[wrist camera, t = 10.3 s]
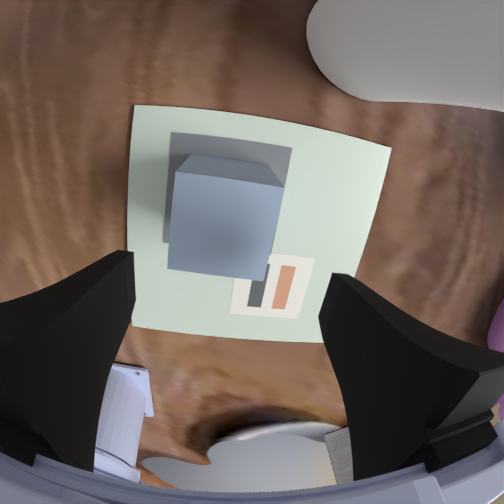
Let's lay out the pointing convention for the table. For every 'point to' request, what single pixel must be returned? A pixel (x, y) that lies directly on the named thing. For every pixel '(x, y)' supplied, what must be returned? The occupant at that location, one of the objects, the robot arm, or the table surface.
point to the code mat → (286, 233)
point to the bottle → (412, 50)
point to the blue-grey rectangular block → (223, 217)
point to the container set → (497, 343)
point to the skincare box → (340, 455)
